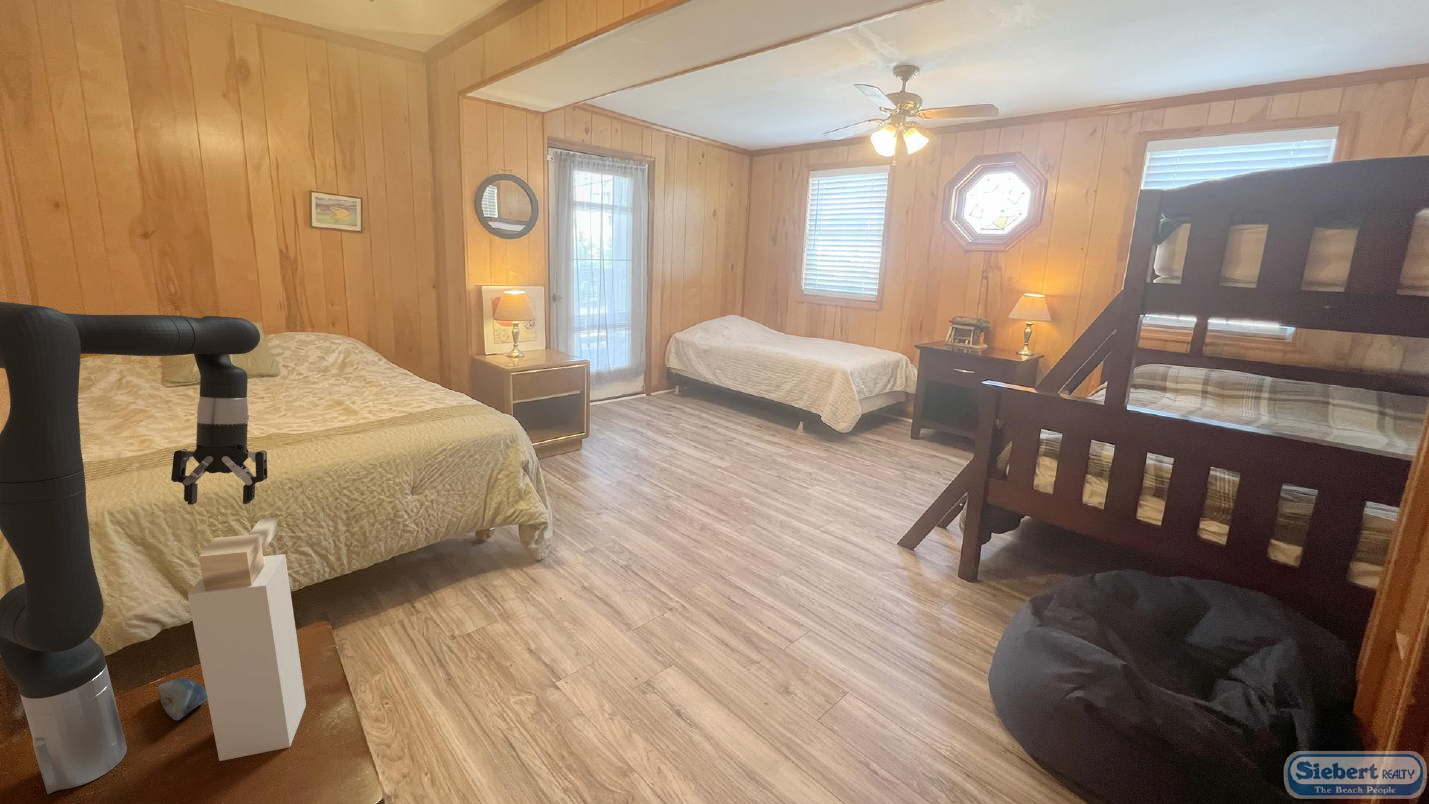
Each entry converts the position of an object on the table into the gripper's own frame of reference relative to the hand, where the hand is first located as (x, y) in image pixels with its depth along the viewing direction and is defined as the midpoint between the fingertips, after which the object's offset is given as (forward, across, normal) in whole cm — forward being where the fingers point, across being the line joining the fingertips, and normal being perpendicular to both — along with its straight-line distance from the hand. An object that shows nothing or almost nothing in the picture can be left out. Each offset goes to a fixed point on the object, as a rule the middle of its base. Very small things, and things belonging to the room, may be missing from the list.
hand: (220, 503), depth 114 cm
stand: (+38, +13, -17) cm, 43 cm away
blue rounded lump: (+37, -3, -6) cm, 38 cm away
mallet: (+5, +10, -18) cm, 21 cm away
